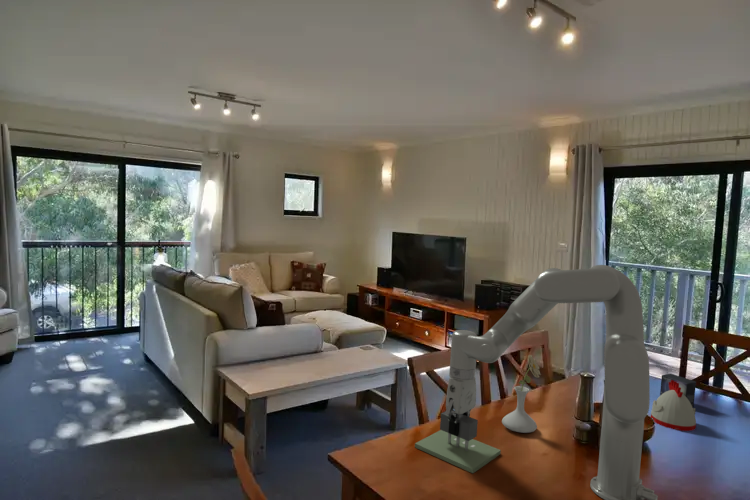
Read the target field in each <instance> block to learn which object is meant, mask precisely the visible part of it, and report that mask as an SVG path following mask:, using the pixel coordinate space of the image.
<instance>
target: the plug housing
mask: <svg viewBox="0 0 750 500" xmlns="http://www.w3.org/2000/svg"><path fill="white" fill-rule="evenodd" d="M445 412H446V410H445V411H443V412H442V413H440V422H439V423H440V424H439V431H440V430H442V431H445V432H447V433H449V432H448V431H449V420H448V417H447V416H446V415H445ZM453 415H454V416H455V417H456V414H454V413H453ZM478 421H479V420H478V419H476V418H473V417H468V416H466V415H463V414H461V415H459V420H458V423H459V435H458V436H457V437H460V438H462V439H465V440H467V441H470V440H471V439H474V438H476V437H477V434H478V423H479V422H478Z"/></svg>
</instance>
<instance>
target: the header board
mask: <svg viewBox="0 0 750 500" xmlns="http://www.w3.org/2000/svg"><path fill="white" fill-rule="evenodd" d="M414 448H416V449H417V450H420V451H422V452H424V453H425V454H428V455H431V456H433V457H435V458H438V459H440V460H442V461H444V462H447V463H449V464H451V465H453V466H455V467H457V468H460V469H462V470H464V471H466V472H468V473H471V474H474V473H476V472H477V471H479V470H480V469H482V468H483V467H484V466H487V464H489V463H490V462H491V461H494V459H496V458H497V457H498V456H499V455H501V453H502V452H501V449H499V448H497V447H494V446H492V445H489V444H486V443H484V442H481V441H479V440H477V439H474V438H473V439H471V440H470V441H467V440H465V439H462V438H460V437H457V436H454V435H452V434H450V433H447V432H445V431H442V430H440V429H439V430H438V431H436V432H434V433H432V434H431V435H429V436H427V437H424V438H421V440H419V441H417V442H415V443H414Z"/></svg>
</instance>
